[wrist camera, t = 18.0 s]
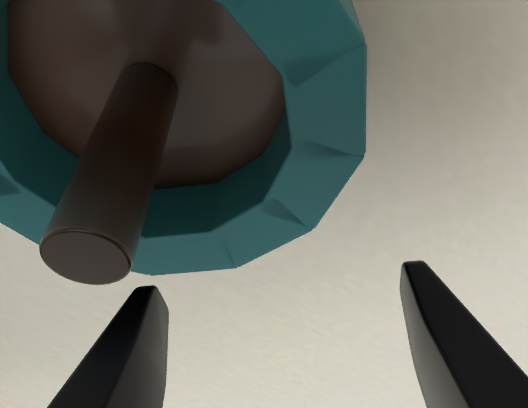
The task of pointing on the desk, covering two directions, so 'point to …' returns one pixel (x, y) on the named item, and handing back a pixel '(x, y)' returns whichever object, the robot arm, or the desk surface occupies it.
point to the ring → (244, 179)
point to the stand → (136, 112)
